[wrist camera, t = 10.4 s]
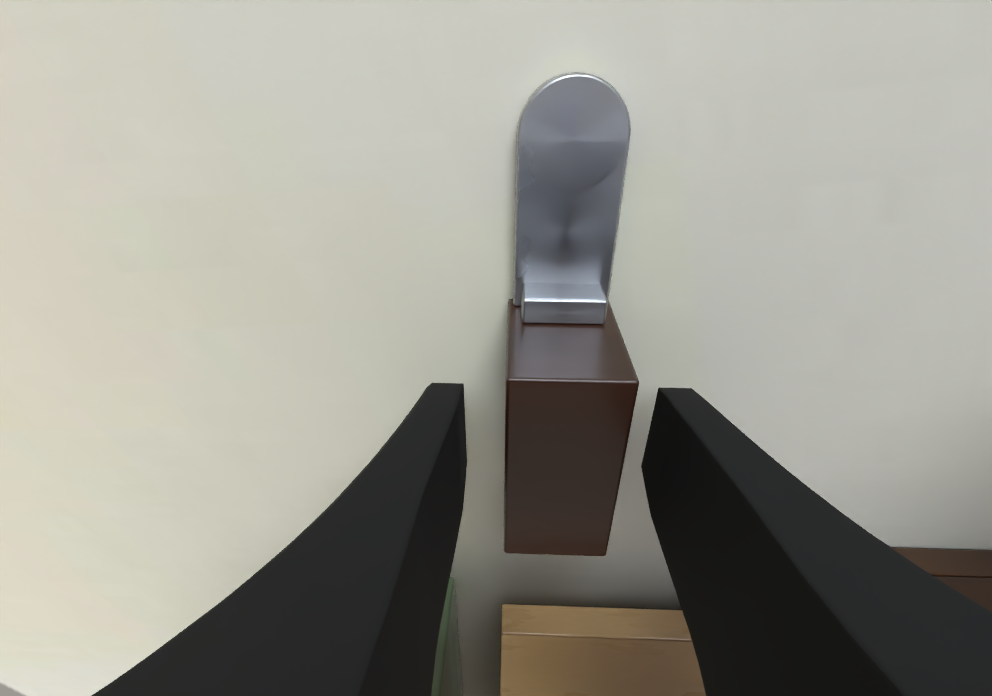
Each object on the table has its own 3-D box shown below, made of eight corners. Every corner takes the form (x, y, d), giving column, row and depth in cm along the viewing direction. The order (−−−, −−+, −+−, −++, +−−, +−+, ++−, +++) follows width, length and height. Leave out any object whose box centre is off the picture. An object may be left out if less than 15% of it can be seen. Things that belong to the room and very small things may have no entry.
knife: (588, 454, 12) (606, 557, 9) (506, 453, 12) (503, 554, 9) (640, 72, 7) (698, 80, 5) (511, 72, 8) (510, 80, 5)
